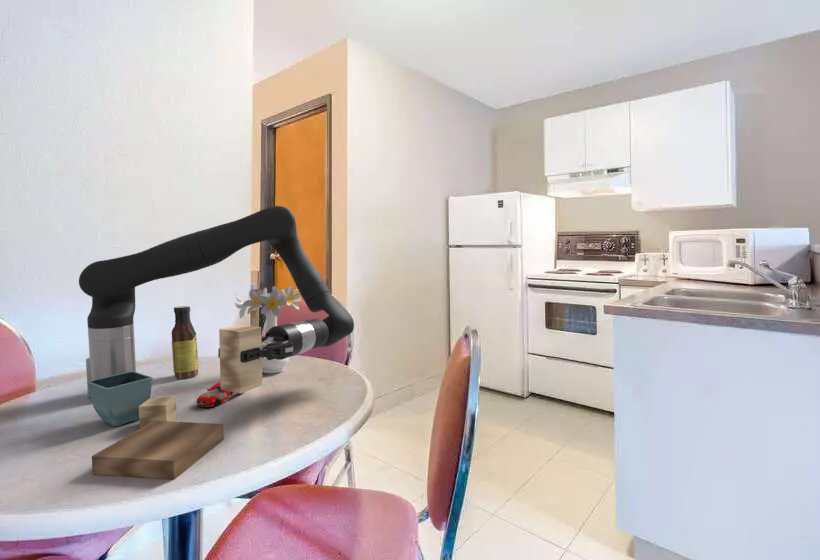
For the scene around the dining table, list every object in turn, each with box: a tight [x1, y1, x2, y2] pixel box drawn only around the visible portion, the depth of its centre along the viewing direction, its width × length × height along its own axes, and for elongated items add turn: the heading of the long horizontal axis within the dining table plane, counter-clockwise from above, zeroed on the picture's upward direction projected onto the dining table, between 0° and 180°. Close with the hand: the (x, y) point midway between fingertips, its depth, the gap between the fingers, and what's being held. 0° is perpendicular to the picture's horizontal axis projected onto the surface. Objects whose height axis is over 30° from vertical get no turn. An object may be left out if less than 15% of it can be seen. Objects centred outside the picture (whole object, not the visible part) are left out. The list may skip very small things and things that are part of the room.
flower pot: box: [86, 371, 153, 427], centre depth 88 cm, size 9×9×9 cm
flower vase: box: [234, 285, 302, 374], centre depth 124 cm, size 13×18×25 cm
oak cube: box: [138, 396, 178, 429], centre depth 86 cm, size 5×5×5 cm
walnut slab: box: [91, 421, 225, 480], centre depth 73 cm, size 14×14×3 cm
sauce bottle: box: [171, 305, 199, 379], centre depth 119 cm, size 6×6×20 cm
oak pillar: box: [218, 324, 263, 394], centre depth 84 cm, size 6×6×12 cm
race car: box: [196, 381, 245, 408], centre depth 101 cm, size 13×5×4 cm, turn 162°
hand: (230, 355), depth 82 cm, fingers closed on oak pillar, 5 cm apart
